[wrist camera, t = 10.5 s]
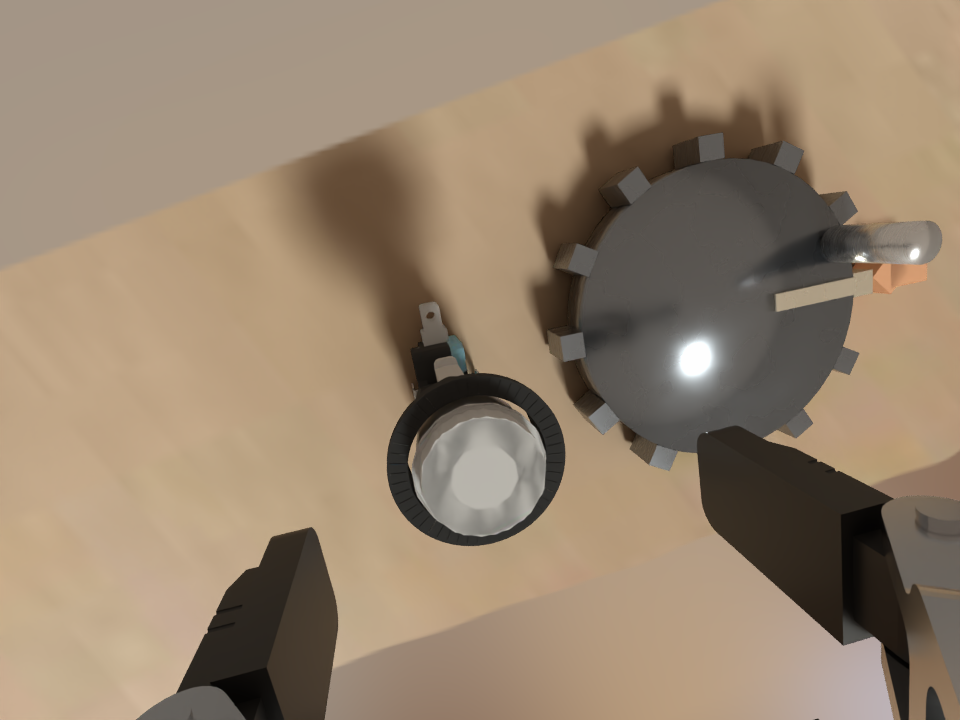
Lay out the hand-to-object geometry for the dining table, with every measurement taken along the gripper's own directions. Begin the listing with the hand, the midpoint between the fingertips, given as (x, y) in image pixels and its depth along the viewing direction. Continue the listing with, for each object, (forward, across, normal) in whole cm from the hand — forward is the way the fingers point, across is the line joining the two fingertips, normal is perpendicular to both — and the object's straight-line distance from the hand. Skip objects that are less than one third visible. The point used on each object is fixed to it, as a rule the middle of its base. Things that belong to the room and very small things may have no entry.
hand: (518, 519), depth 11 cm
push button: (+14, 0, 0) cm, 14 cm away
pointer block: (+14, -22, 0) cm, 27 cm away
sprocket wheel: (+14, -12, 0) cm, 19 cm away
